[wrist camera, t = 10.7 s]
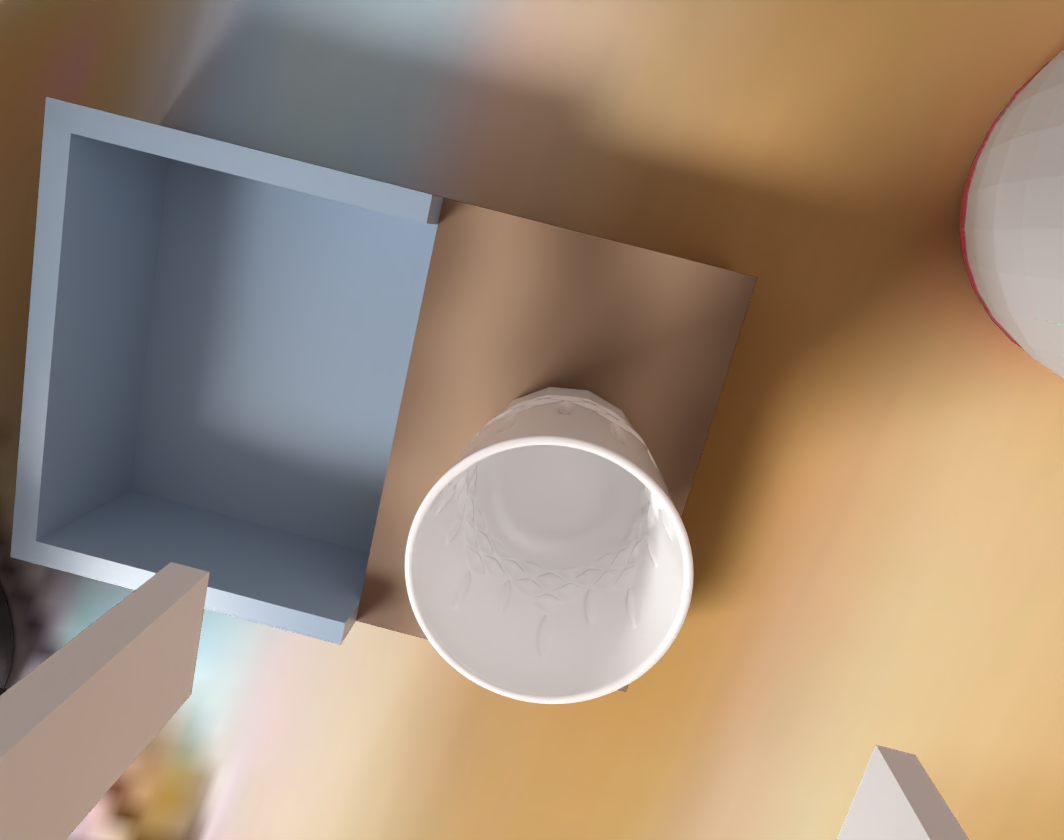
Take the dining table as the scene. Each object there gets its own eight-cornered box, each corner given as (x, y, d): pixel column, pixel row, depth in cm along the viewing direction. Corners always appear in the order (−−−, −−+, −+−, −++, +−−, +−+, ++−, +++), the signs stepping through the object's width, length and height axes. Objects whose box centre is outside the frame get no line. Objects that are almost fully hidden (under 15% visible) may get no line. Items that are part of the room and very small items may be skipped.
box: (115, 499, 38) (10, 557, 31) (157, 125, 33) (45, 96, 26) (386, 571, 37) (340, 644, 31) (465, 203, 33) (432, 194, 26)
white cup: (496, 344, 29) (448, 397, 20) (690, 407, 29) (737, 491, 20) (441, 525, 31) (373, 654, 22) (623, 584, 31) (636, 740, 22)
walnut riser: (386, 571, 37) (355, 620, 33) (465, 203, 33) (443, 197, 28) (621, 632, 37) (626, 692, 32) (732, 271, 33) (757, 277, 28)
